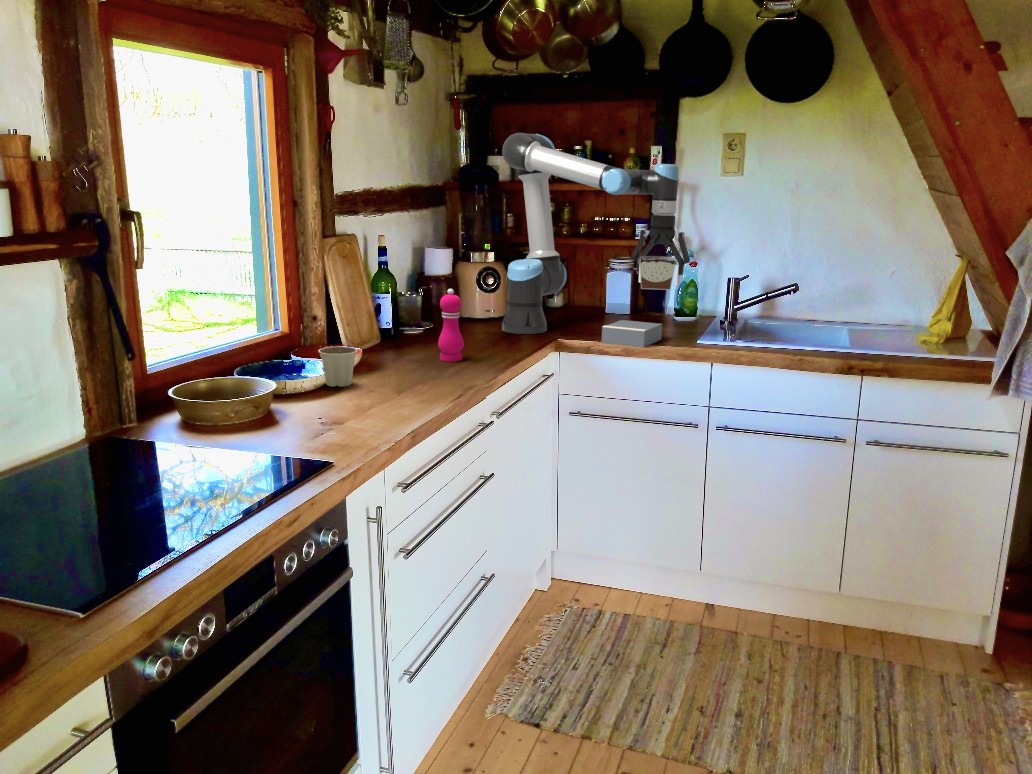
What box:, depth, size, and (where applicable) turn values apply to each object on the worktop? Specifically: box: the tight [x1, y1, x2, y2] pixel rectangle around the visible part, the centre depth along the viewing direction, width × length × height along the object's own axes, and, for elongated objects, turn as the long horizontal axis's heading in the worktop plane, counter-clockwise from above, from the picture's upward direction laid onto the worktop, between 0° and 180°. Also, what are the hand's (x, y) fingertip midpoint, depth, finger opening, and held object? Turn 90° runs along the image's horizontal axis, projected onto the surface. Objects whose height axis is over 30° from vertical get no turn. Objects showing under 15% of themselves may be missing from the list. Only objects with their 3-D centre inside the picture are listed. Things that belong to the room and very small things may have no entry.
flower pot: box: [317, 346, 358, 388], centre depth 204 cm, size 9×9×9 cm
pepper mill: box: [437, 288, 465, 363], centre depth 232 cm, size 7×7×20 cm
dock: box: [601, 319, 663, 348], centre depth 264 cm, size 14×16×5 cm
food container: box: [638, 255, 678, 291], centre depth 267 cm, size 12×6×10 cm, turn 87°
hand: (658, 283), depth 267 cm, fingers closed on food container, 11 cm apart
